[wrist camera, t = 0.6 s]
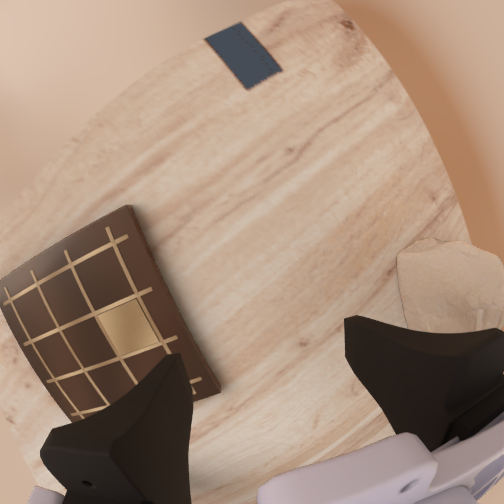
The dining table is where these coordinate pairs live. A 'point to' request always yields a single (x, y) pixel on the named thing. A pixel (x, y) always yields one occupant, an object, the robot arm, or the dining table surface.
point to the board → (98, 317)
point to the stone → (450, 287)
